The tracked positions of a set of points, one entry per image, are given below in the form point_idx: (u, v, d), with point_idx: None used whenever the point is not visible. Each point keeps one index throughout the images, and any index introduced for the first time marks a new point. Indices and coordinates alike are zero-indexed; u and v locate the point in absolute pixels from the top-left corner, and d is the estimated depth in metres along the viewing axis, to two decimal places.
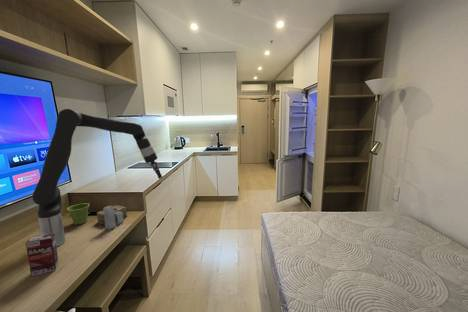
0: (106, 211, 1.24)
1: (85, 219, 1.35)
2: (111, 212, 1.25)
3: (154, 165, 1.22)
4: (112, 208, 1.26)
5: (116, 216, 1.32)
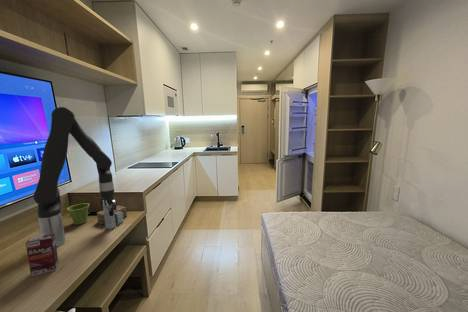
0: (106, 211, 1.24)
1: (85, 219, 1.35)
2: None
3: (115, 203, 1.23)
4: None
5: (116, 216, 1.32)
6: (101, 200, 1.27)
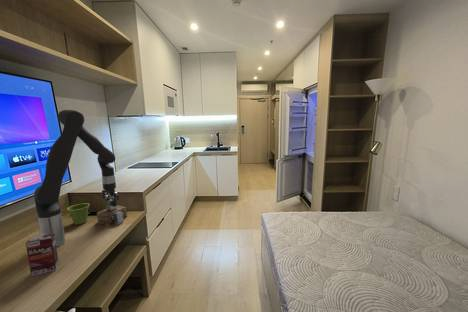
0: (108, 204, 1.35)
1: (85, 219, 1.35)
2: None
3: (116, 193, 1.34)
4: None
5: (116, 216, 1.32)
6: (103, 191, 1.38)
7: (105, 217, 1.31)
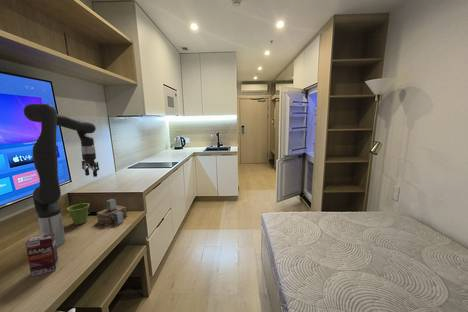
0: (108, 204, 1.36)
1: (85, 219, 1.35)
2: (113, 205, 1.37)
3: (96, 163, 1.34)
4: (114, 201, 1.38)
5: (116, 216, 1.32)
6: (83, 162, 1.38)
7: (105, 217, 1.31)
